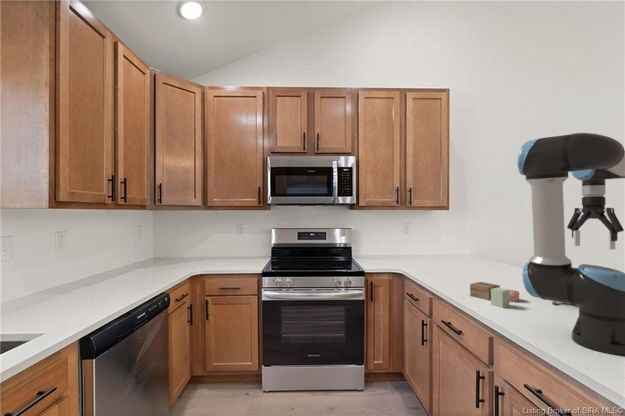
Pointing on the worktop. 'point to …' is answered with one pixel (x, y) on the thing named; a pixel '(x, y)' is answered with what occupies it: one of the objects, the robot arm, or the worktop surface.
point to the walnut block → (482, 290)
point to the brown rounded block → (513, 296)
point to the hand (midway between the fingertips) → (593, 247)
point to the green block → (500, 297)
